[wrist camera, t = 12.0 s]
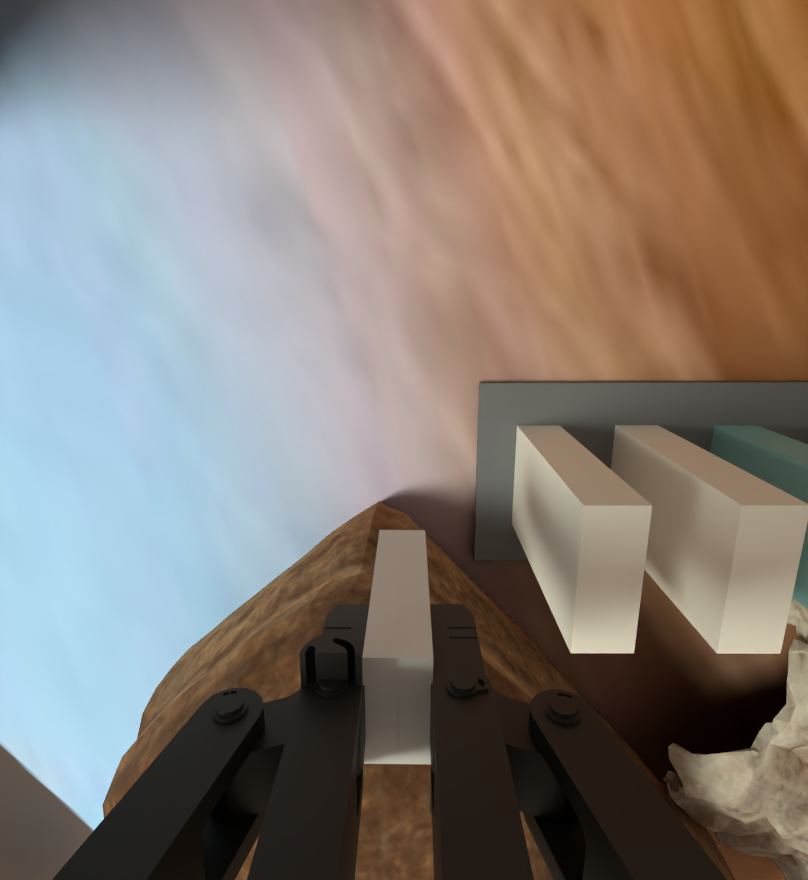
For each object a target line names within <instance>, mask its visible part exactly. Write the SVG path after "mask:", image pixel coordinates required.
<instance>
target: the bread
mask: <svg viewBox="0 0 808 880" xmlns="http://www.w3.org/2000/svg"><path fill="white" fill-rule="evenodd" d="M379 530H422V529H421V528H420V527H419V526H418V525H417V524H416V523H415V522H414V521H413V520H412V519H411V518H410V517H409V516H408V515H407V514H406V513H404V512H401V511H399V510H396V509H393V508H391V507H388V506H386V505H385V504H383V503H382V502H380V501H379V502H378V503H376V504H375V505H373V506H371V507H370V508H368V509H367V510H365V511H363V512H362V513H360V514H358V515H357V516H355V517H354V518H352V519H351V520H349V521H348V522H346V523H345V524H343V525H342V526H341V527H339V528H338V529H336V530H335V531H333V532H332V533H331V534H329V535H328V536H327V537H326V538H324V539H323V540H322V541H321V542H320V543H319V544H318V545H316V546H315V547H314V548H313V549H312V550H311V551H310V552H308V553H307V554H306V555H305V556H304V557H302V558H301V559H300V560H299V561H297V562H296V563H295V564H293V565H292V566H291V567H290V568H288V569H287V570H286V571H285V572H283V573H282V574H281V575H279V576H278V577H277V578H276V579H274V580H273V581H272V582H271V583H269V584H268V585H267V586H266V587H264V588H263V589H262V590H261V591H260V592H258V593H257V594H256V595H255V596H253V597H252V598H251V599H249V600H248V601H247V602H246V603H244V604H243V605H242V606H241V607H239V608H238V609H237V610H236V611H234V612H233V613H232V614H231V615H229V616H228V617H227V618H226V619H225V620H224V621H222V622H221V623H220V624H219V625H218V626H217V627H215V628H214V629H213V630H212V631H211V632H210V633H208V634H207V635H206V636H205V637H203V638H202V639H201V640H200V641H198V642H197V643H196V644H195V645H193V646H192V647H191V648H190V649H188V651H187V652H186V653H185V654H184V655H183V656H182V657H181V658H180V659H179V660H178V661H177V662H176V664H175V665H174V666H173V667H172V668H171V669H170V671H169V672H168V673H167V675H166V676H165V677H164V679H163V680H162V681H161V683H160V684H159V685H158V687H157V688H156V690H155V692H154V693H153V695H152V697H151V699H150V701H149V703H148V705H147V707H146V708H145V710H144V712H143V715H142V719H141V724H140V728H139V733H138V737H137V740H136V741H135V743H134V744H133V745H132V746H131V747H130V749H129V750H128V751H127V752H126V753H125V755H124V756H123V757H122V759H121V761H120V764H119V766H118V768H117V771H116V773H115V775H114V778H113V780H112V783H111V786H110V788H109V791H108V793H107V796H106V798H105V801H104V803H103V812H104V818H105V817H106V816H107V815H108V814H109V812H110V811H111V810H112V809H113V808H114V807H115V805H116V804H117V803H118V802H119V801H120V800H121V798H122V797H123V796H124V795H125V794H126V793H127V791H128V790H129V789H130V788H131V787H132V785H133V784H134V783H135V782H136V781H137V780H138V778H139V777H140V776H141V775H142V774H143V773H144V771H145V770H146V769H147V768H148V767H149V766H150V764H151V763H152V762H153V761H154V760H155V759H156V757H157V756H158V755H159V754H160V753H161V751H162V750H163V749H164V748H165V747H166V746H167V744H168V743H169V742H170V741H171V740H172V739H173V737H174V736H175V735H176V734H177V733H178V732H179V730H180V729H181V728H182V727H183V726H184V725H185V723H186V722H187V721H188V720H189V719H190V717H191V716H192V715H193V714H194V713H195V712H196V710H197V709H198V708H199V707H200V706H201V705H202V704H203V703H204V702H205V701H206V700H207V699H208V698H210V697H211V696H212V695H214V694H216V693H219V692H221V691H223V690H227V689H232V688H248V689H251V690H253V691H256V692H257V693H258V694H259V695H260V696H261V697H262V699H263V703H264V702H269V701H273V700H277V699H281V698H284V697H287V696H290V695H291V694H293V693H295V692H297V691H298V690H300V688H301V676H300V656H299V652H300V651H301V649H302V648H303V646H304V645H305V644H307V643H308V642H309V641H311V640H312V639H315V638H318V637H321V635H322V631H323V629H324V623H325V620H326V616H327V614H328V613H329V612H330V611H331V610H332V609H333V608H334V607H335V606H336V605H337V604H340V605H369V604H370V597H371V589H372V582H373V574H374V567H375V560H376V552H377V545H378V537H379ZM425 536H426V552H427V567H428V583H429V598H430V604H464V605H465V606H466V607H467V608H468V609H469V610H470V612H471V613H472V614H473V615H474V619H475V624H476V629H477V634H478V639H479V644H480V649H481V654H482V659H483V664H484V669H485V674H486V677H487V678H488V679H489V680H490V681H491V684H492V686H493V688H494V689H495V690H497V691H498V692H499V693H501V694H503V695H504V696H506V697H508V698H511V699H514V700H517V701H521V702H525V703H529V704H531V701H532V699H533V698H534V697H535V696H536V695H537V694H538V693H540V692H543V691H546V690H563V691H568V692H572V693H574V694H576V695H578V696H580V697H582V696H581V695H580V694H579V693H578V692H577V691H576V690H575V689H574V688H573V687H572V686H571V685H570V684H569V683H568V682H567V681H566V680H565V679H564V678H563V677H562V676H561V675H560V674H559V673H558V672H557V670H556V669H555V668H554V667H553V666H552V664H551V663H550V662H549V661H548V660H547V659H546V657H545V656H544V655H543V654H542V653H541V652H540V650H539V649H538V648H537V647H536V646H535V645H534V644H533V642H532V641H531V640H530V639H529V638H528V637H527V636H526V635H525V633H524V632H523V631H522V630H521V629H520V628H519V627H518V625H517V624H516V623H515V622H514V621H513V620H512V619H511V618H510V617H509V616H508V615H507V614H505V613H504V612H503V611H502V610H501V609H500V608H499V607H498V606H497V605H496V604H495V603H494V602H493V601H492V600H491V599H490V598H489V597H488V596H487V595H486V594H485V593H484V592H483V591H482V590H481V589H480V588H479V587H478V586H477V585H476V584H475V583H474V582H473V581H472V580H471V579H470V578H469V577H468V576H467V575H466V574H465V573H464V572H463V571H462V570H461V569H460V568H459V567H458V566H457V565H456V564H455V563H454V562H453V561H452V560H451V559H450V558H449V557H448V556H447V555H446V554H445V553H444V552H443V551H442V549H441V548H440V547H439V546H438V545H437V544H436V543H435V542H434V541H433V540H432V539H431V538H430V537H429V536H428V535H427V534H426V533H425ZM582 698H583V697H582ZM598 715H599V714H598ZM599 716H600V715H599ZM600 717H601V716H600ZM601 718H602V717H601ZM602 720H603V721H604V722H605V724H606V725H607V726H608V727H609V729H610V730H611V731H612V733H613V734H614V735H615V736H616V738H617V739H618V740H619V742H620V743H621V744H622V745H623V747H624V748H625V749H626V751H627V752H628V753H629V754H630V756H631V757H632V758H633V760H634V761H635V762H636V763H637V765H638V766H639V767H640V768H641V770H642V771H643V772H644V774H645V775H646V776H647V777H648V779H649V780H650V781H651V783H652V784H653V785H654V786H655V788H656V789H657V790H658V792H659V793H660V794H661V795H662V797H663V798H664V799H665V801H666V802H667V803H668V804H669V806H670V807H671V808H672V810H673V811H674V812H675V813H676V815H677V816H678V817H679V819H680V820H681V821H682V822H683V824H684V825H685V826H686V828H687V829H688V830H689V831H690V833H691V834H692V835H693V837H694V838H695V839H696V840H697V842H698V843H699V844H700V846H701V847H702V848H703V849H704V851H705V852H706V853H707V855H708V856H709V857H710V858H711V860H712V861H713V862H714V864H715V865H716V866H717V867H718V869H719V870H720V871H721V873H722V874H723V875H724V876H725V878H726V879H727V880H735V879H734V877H733V875H732V873H731V871H730V869H729V867H728V865H727V863H726V862H725V860H724V858H723V856H722V854H721V853H720V851H719V849H718V847H717V846H716V844H715V842H714V840H713V839H712V837H711V836H710V834H709V833H708V831H707V830H706V829H705V828H704V827H703V826H701V825H699V824H698V823H696V822H695V821H694V820H693V819H692V818H691V817H690V816H689V815H688V814H687V813H686V812H685V811H684V810H683V809H682V808H681V807H680V806H679V805H677V804H676V803H675V802H674V800H673V799H672V798H671V797H670V795H669V791H668V789H667V788H666V787H665V786H664V785H663V784H662V782H661V781H660V780H659V779H658V778H657V777H656V776H655V775H654V774H653V773H652V772H651V770H650V769H649V768H648V767H647V766H646V765H645V763H644V762H643V761H642V760H641V759H640V757H639V756H638V755H637V754H636V753H635V752H634V751H633V750H632V749H631V748H630V747H629V745H628V744H627V743H626V742H625V741H624V740H623V739H622V738H621V737H620V736H619V735H618V734H617V732H616V731H615V730H614V729H613V728H612V727H611V726H610V725H609V724H608V723H607V722H606V721H605V720H604V719H603V718H602ZM430 785H431V764H364V762H363V795H362V806H361V817H360V827H359V838H358V849H357V859H356V870H355V880H434V864H433V838H432V814H430ZM520 816H521V821H522V825H523V830H524V835H525V840H526V844H527V849H528V854H529V859H530V863H531V868H532V873H533V878H534V880H553V878H552V876H551V874H550V872H549V870H548V868H547V865H546V863H545V861H544V859H543V857H542V855H541V853H540V851H539V849H538V847H537V845H536V842H535V840H534V838H533V836H532V834H531V832H530V830H529V828H528V826H527V824H526V822H525V818H524V814H523V812H521V811H520ZM258 838H259V836H258ZM258 838H257V840H256V841H255V843H254V845H253V847H252V849H251V851H250V853H249V855H248V856H247V858H246V860H245V862H244V864H243V866H242V868H241V869H240V871H239V873H238V875H237V877H236V879H235V880H247V877H248V874H249V870H250V866H251V863H252V859H253V856H254V852H255V849H256V845H257V841H258Z"/></svg>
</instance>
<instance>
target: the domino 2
mask: <svg viewBox="0 0 808 880" xmlns="http://www.w3.org/2000/svg"><path fill="white" fill-rule="evenodd" d="M611 470H612V471H613V472H614V473H615V474H616V475H618V476H619V477H620V478H621V479H622V480H623V481H624V482H626V483H627V484H628V485H629V486H630V487H631V488H633V489H634V490H635V491H636V492H637V493H638V494H640V495H641V496H642V497H643V498H644V499H645V500H646V501H648V502H649V503H650V504H651V505H652V513H651V521H650V529H649V537H648V545H647V553H646V561H645V571H646V572H647V573H648V574H649V575H650V576H651V578H652V579H653V580H654V581H655V582H656V583H657V585H658V586H659V587H660V588H661V589H662V590H663V591H664V593H665V594H666V595H667V596H668V597H669V598H670V600H671V601H672V602H673V603H674V604H675V605H676V607H677V608H678V609H679V610H680V611H681V612H682V614H683V615H684V616H685V617H686V618H687V619H688V621H689V622H690V623H691V624H692V625H693V626H694V628H695V629H696V630H697V631H698V632H699V633H700V634H701V636H702V637H703V638H704V639H705V640H706V641H707V643H708V644H709V645H710V646H711V647H712V648H713V650H714V651H715V652H716V653H717V654H781V649H782V644H783V639H784V634H785V629H786V625H787V620H788V615H789V610H790V605H791V600H792V596H793V591H794V586H795V581H796V576H797V571H798V566H799V562H800V557H801V552H802V547H803V542H804V537H805V532H806V528H807V523H808V504H807V503H805V502H803V501H801V500H800V499H798V498H796V497H794V496H792V495H790V494H788V493H786V492H784V491H782V490H780V489H779V488H777V487H775V486H773V485H771V484H769V483H767V482H765V481H763V480H761V479H759V478H758V477H756V476H754V475H752V474H750V473H748V472H746V471H744V470H742V469H740V468H738V467H737V466H735V465H733V464H731V463H729V462H727V461H725V460H723V459H721V458H719V457H718V456H716V455H714V454H712V453H710V452H708V451H706V450H704V449H702V448H700V447H698V446H697V445H695V444H693V443H691V442H689V441H687V440H685V439H683V438H681V437H679V436H677V435H676V434H674V433H672V432H670V431H668V430H666V429H664V428H662V427H660V426H658V425H615V432H614V442H613V452H612V462H611Z"/></svg>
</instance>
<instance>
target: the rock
mask: <svg viewBox="0 0 808 880" xmlns="http://www.w3.org/2000/svg"><path fill="white" fill-rule="evenodd" d="M787 624H791V625H795V626H796V632H797V636H798V637H800V638H802V639H804V640H805V641H806V644H805V643H803V642H801V641H799V640H796V639H794V640H793V642H792V644H791V646H790V648H789V659H788V676H787V697H786V705H785V706H784V707H783V708H782V710H781V711H780V712H779V713H778V714H777V716H776V717H775V718H774V719H773V722H772V723H765V725H764V726H763V727H762V729H761V730H760V731H759V733H758V735H757V737H756V739H755V741H754V742H753V744H752V746H751V748H749V749H742V750H736V751H730V752H724V753H717V754H707V755H704V754H701V753H700V754H692V753H691V752H689V751H687V750H685V749H684V748H682V747H680V746H678V745H677V744H675V743H673V744H671V745H670V746H668V752H669V759H670V761H671V763H672V765H673V767H674V769H675V770H676V772H677V774H678V776H679V777H678V776H677V775H676V774H675V773H673V772H672V771H669V770H668V772H667V774H666V776H665V777H664V779H663V781H664V782H665V783H666V784H667V787H668V791H669V795H670V797H671V798H672V799H673V800H674V802H675V803H676V804H677V805H679V806H680V807H681V808H682V809H683V810H684V811H685V812H686V813H687V814H688V815H689V816H690V817H691V818H692V819H693V820H694V821H695V822H696V823H698V824H699V825H701V826H703V827H704V828H706V829H708V830H710V831H712V832H715V834H716V836H717V838H718V840H719V841H720V842H722V843H723V844H724V845H725V846H727V847H728V848H730V849H734V850H738V851H741V852H744V853H746V854H749V855H751V856H758V857H770V858H771V859H772V860H773V861H774V862H775V863H776V865H777V866H778V867H779V868H780V869H781V870H782V871H783V874H784V876H785V878H786V880H808V610H807V609H806V608H805V607H803V606H802V605H801V604H800V603H798V602H797V601H796V600H795V599H793V598H792V600H791V605H790V610H789V615H788V620H787ZM680 779H681V780H680Z"/></svg>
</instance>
